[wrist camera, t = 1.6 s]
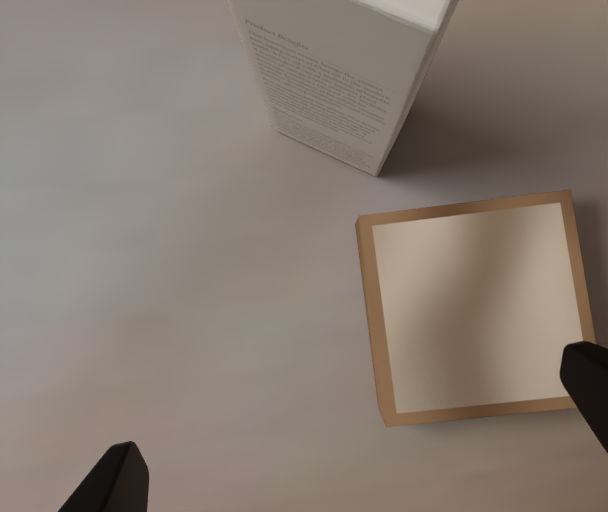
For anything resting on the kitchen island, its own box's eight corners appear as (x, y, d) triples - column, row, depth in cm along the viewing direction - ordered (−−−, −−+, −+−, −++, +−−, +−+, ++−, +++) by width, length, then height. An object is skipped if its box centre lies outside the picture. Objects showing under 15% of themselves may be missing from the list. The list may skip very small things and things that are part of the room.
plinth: (540, 201, 20) (570, 189, 18) (570, 389, 20) (606, 404, 17) (355, 224, 21) (358, 216, 18) (378, 409, 20) (386, 426, 17)
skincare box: (413, 103, 21) (528, -136, 9) (376, 179, 21) (442, 38, 9) (304, 55, 21) (276, -232, 9) (268, 129, 21) (191, -69, 9)
